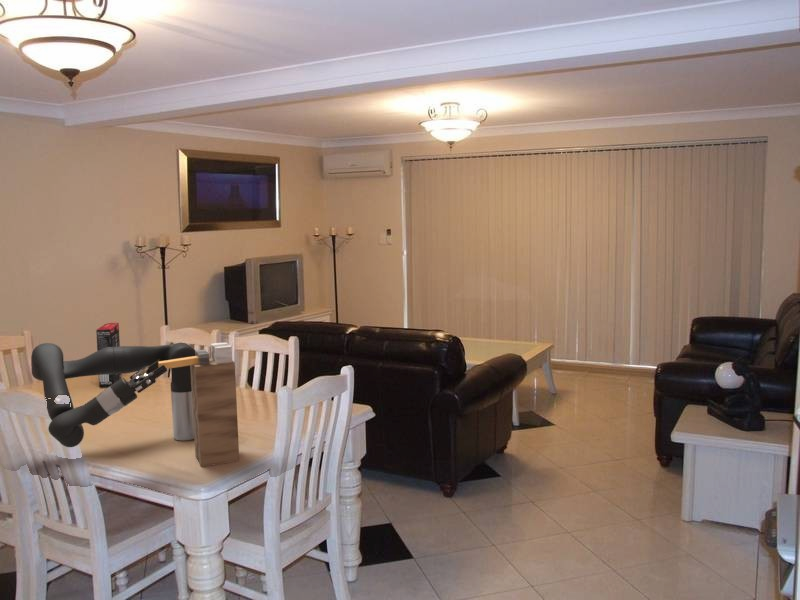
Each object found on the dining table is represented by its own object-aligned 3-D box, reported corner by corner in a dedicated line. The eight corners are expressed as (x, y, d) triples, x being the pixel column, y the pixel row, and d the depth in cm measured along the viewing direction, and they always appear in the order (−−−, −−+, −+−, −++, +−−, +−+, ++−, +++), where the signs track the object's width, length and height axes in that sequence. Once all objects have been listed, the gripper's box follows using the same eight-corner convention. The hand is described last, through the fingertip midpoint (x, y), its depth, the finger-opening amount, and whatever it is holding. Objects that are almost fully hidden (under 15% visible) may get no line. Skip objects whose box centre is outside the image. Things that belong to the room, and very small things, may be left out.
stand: (195, 456, 227) (189, 345, 222) (232, 450, 232) (227, 341, 227) (200, 467, 218) (194, 350, 213) (239, 460, 223) (234, 346, 218)
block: (158, 367, 215) (157, 361, 215) (204, 360, 221) (204, 354, 221) (159, 369, 213) (159, 363, 212) (206, 362, 219) (205, 356, 218)
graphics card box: (107, 379, 332) (103, 322, 328) (123, 378, 333) (119, 322, 329) (99, 388, 315) (94, 329, 311) (115, 387, 316) (111, 328, 312)
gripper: (122, 400, 217) (167, 369, 222) (126, 412, 204) (174, 379, 209) (107, 381, 214) (153, 350, 219) (110, 392, 202) (159, 359, 206)
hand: (163, 364), depth 214 cm, fingers open, 8 cm apart
